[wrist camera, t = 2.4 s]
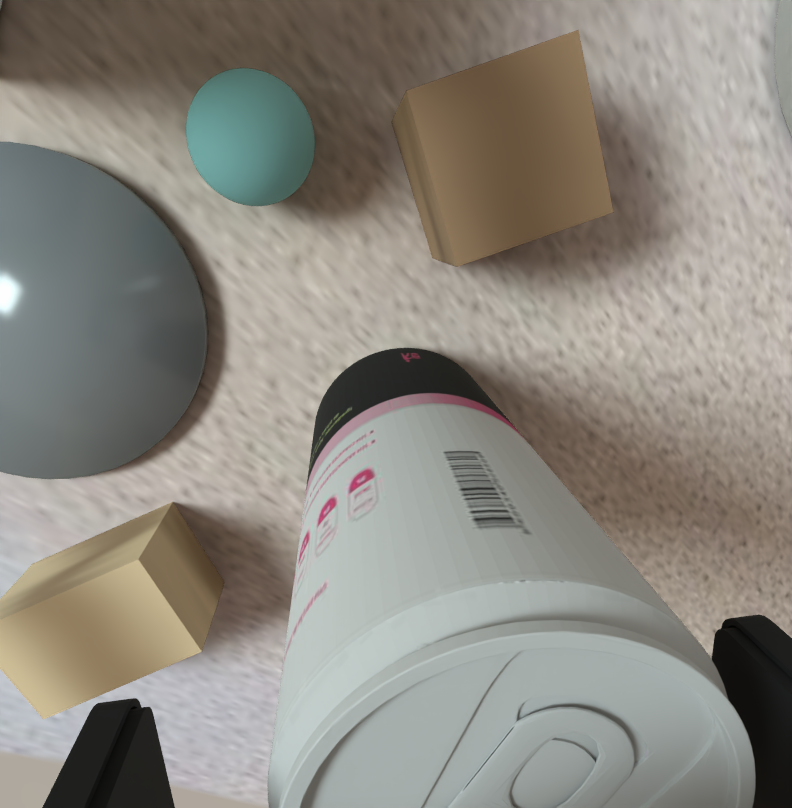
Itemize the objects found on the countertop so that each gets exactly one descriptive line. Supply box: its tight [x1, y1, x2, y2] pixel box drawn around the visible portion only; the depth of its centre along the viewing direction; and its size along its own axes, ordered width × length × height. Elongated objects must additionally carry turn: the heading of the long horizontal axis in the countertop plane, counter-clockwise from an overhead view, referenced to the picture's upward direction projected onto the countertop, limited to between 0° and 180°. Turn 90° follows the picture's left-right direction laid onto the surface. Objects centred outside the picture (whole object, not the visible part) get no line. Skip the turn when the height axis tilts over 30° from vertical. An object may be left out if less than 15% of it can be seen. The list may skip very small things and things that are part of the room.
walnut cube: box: [392, 30, 613, 267], centre depth 17 cm, size 4×4×4 cm
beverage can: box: [268, 348, 756, 808], centre depth 14 cm, size 7×6×15 cm
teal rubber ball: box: [186, 68, 315, 206], centre depth 16 cm, size 4×4×4 cm
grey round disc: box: [0, 142, 208, 479], centre depth 19 cm, size 11×11×1 cm
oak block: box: [0, 502, 224, 719], centre depth 20 cm, size 6×4×4 cm, turn 113°
